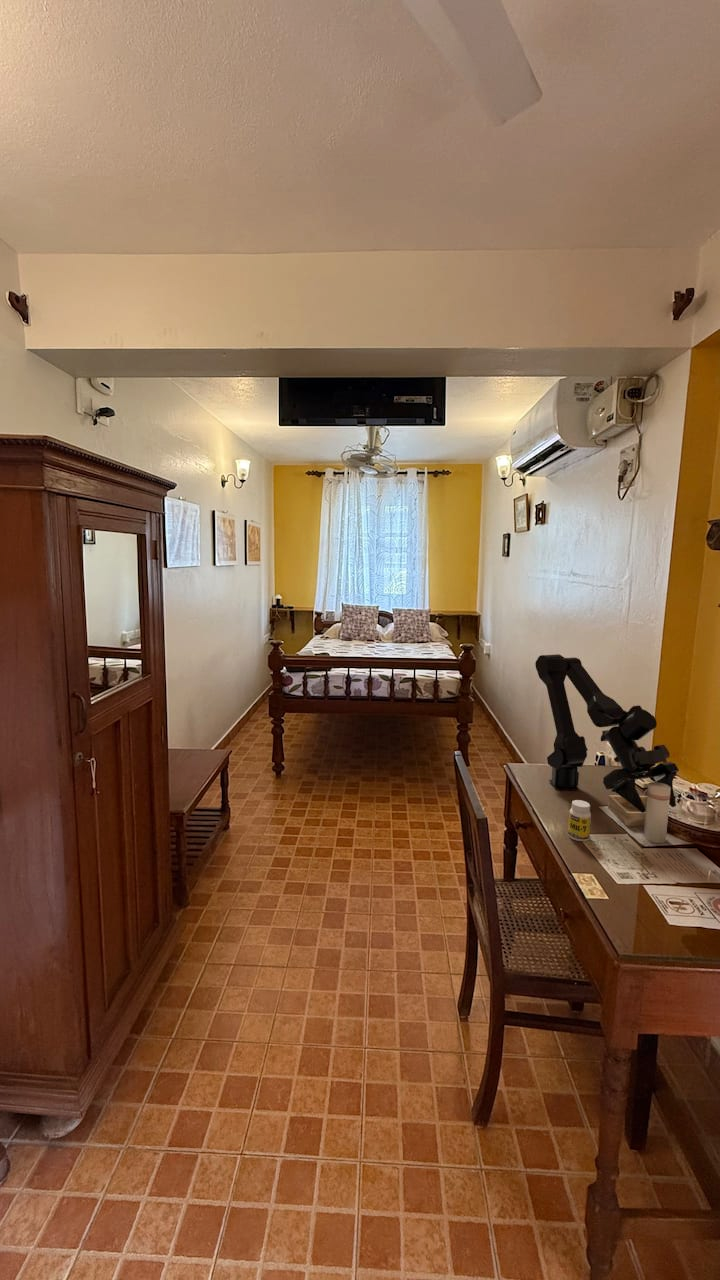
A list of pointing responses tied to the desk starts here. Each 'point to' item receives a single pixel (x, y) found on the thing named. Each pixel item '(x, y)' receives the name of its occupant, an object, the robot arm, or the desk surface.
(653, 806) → the vase
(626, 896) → the desk surface
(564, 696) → the robot arm
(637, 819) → the tray
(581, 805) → the supplement bottle
